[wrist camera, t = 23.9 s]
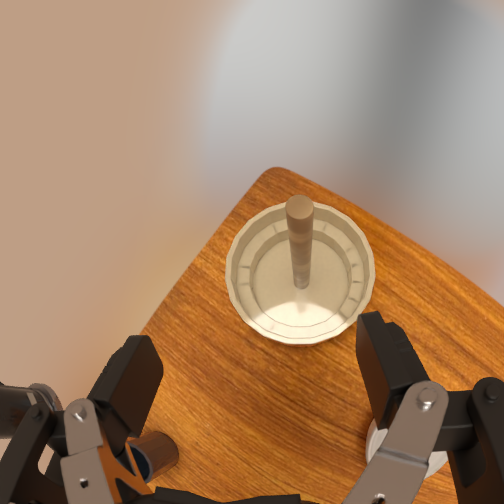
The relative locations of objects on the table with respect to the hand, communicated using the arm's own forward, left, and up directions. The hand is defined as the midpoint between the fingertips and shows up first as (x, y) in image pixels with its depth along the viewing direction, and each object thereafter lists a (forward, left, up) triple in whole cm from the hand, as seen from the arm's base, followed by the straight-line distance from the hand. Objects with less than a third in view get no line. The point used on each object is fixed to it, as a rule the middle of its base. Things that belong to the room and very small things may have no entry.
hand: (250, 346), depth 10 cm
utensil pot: (-10, -18, -22) cm, 30 cm away
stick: (-1, +9, -22) cm, 23 cm away
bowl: (-1, +9, -22) cm, 24 cm away
